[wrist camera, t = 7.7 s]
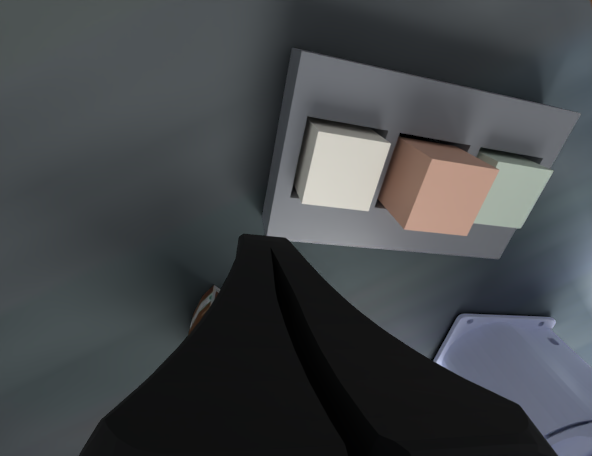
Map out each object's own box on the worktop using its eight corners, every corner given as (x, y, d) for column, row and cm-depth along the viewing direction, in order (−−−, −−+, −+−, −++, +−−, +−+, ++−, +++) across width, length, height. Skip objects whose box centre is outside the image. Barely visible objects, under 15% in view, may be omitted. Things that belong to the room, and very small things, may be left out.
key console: (543, 104, 20) (581, 113, 18) (475, 238, 24) (499, 259, 22) (291, 47, 17) (301, 51, 14) (261, 216, 21) (266, 238, 19)
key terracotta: (455, 146, 19) (499, 169, 16) (431, 204, 20) (466, 236, 17) (397, 136, 18) (432, 158, 15) (376, 197, 19) (404, 229, 16)
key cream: (364, 124, 19) (391, 143, 16) (347, 183, 20) (368, 211, 17) (303, 113, 18) (318, 131, 15) (289, 175, 19) (301, 203, 16)
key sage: (507, 149, 21) (553, 170, 18) (481, 201, 23) (520, 228, 20) (458, 141, 20) (498, 161, 17) (435, 195, 22) (468, 222, 19)
